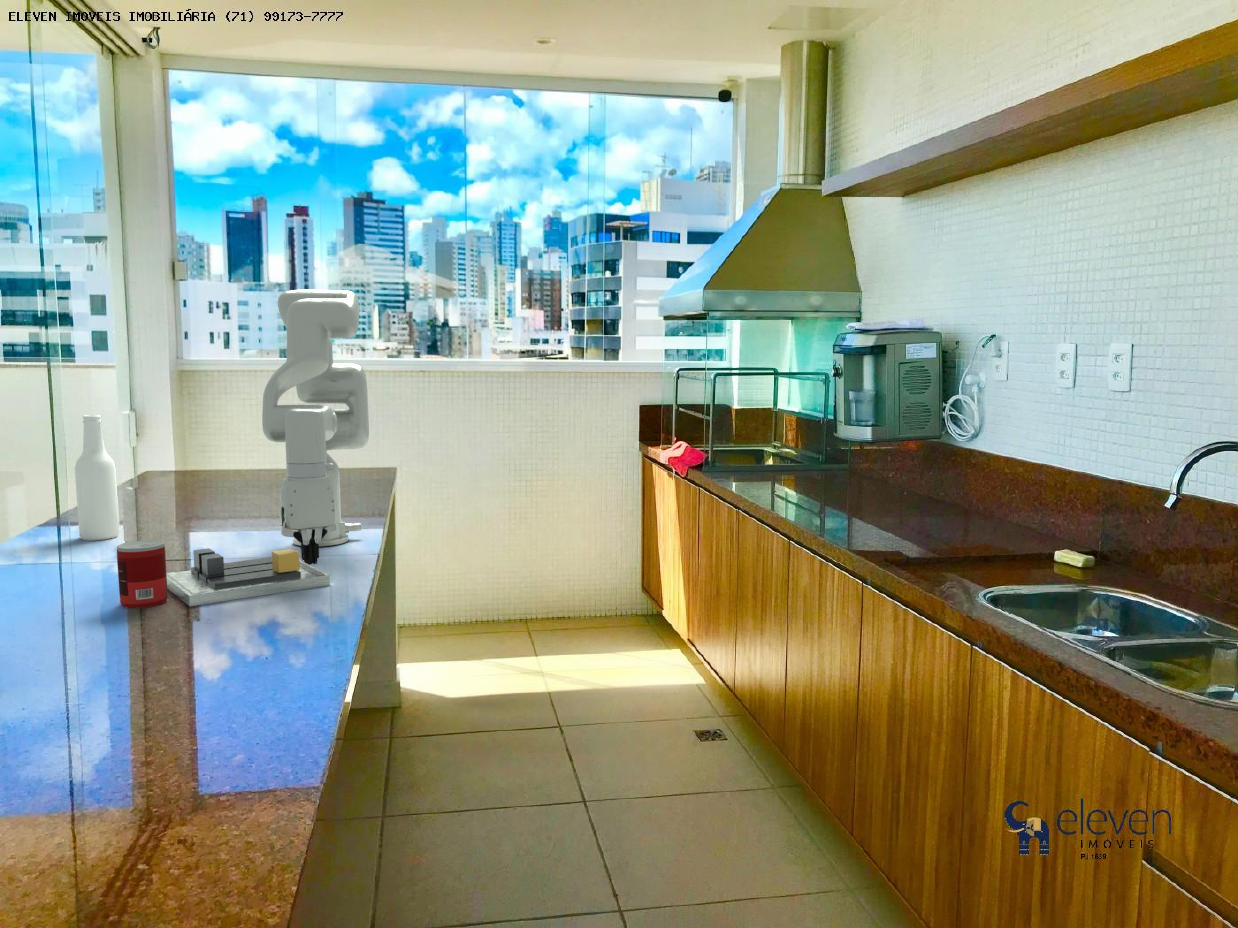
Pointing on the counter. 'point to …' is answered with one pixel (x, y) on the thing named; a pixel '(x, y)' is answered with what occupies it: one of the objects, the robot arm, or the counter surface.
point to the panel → (238, 579)
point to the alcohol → (96, 486)
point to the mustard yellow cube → (285, 560)
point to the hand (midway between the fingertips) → (310, 562)
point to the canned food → (142, 573)
